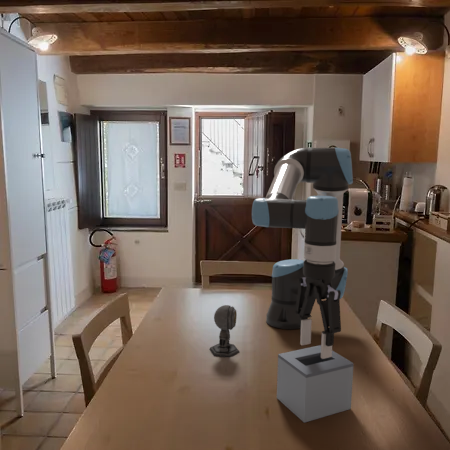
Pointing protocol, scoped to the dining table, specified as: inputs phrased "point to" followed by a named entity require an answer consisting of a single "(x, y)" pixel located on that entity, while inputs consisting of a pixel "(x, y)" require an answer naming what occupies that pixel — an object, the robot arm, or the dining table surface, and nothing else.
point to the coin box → (314, 383)
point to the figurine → (225, 331)
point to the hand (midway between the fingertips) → (315, 350)
